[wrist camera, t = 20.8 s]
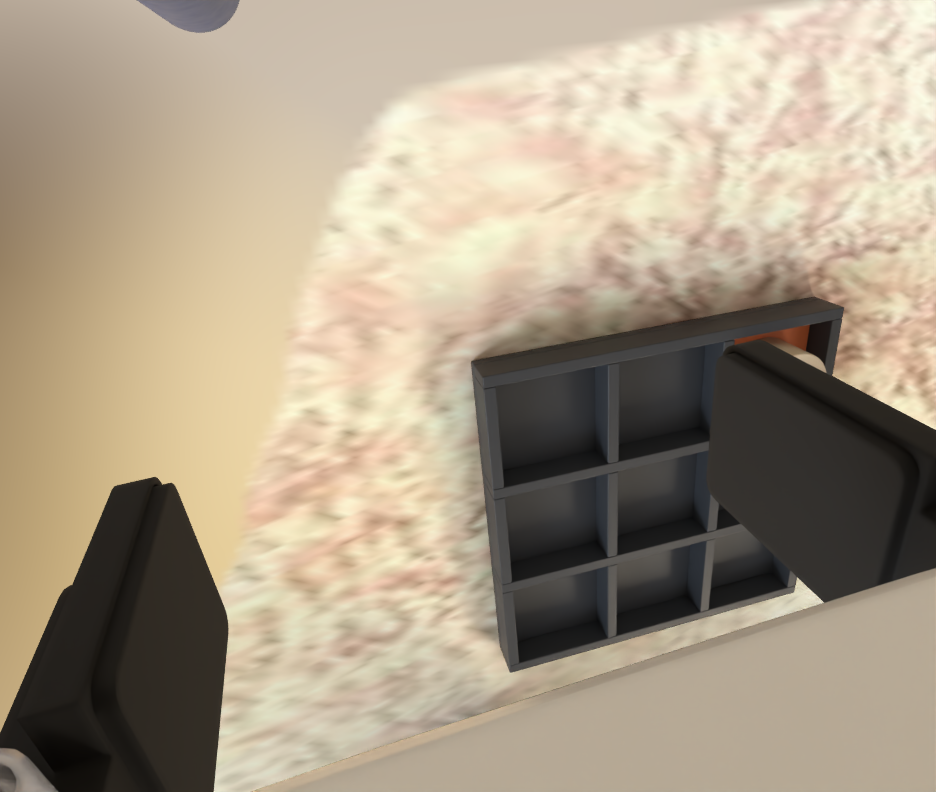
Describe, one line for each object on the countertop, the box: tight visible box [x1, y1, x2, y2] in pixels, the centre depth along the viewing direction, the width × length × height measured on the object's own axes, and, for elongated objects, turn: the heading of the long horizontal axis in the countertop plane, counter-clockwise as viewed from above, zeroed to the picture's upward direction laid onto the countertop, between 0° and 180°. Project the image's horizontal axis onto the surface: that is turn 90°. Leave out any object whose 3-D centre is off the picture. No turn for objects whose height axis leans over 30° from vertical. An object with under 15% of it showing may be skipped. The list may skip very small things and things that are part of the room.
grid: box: [471, 297, 844, 673], centre depth 40 cm, size 22×22×2 cm
